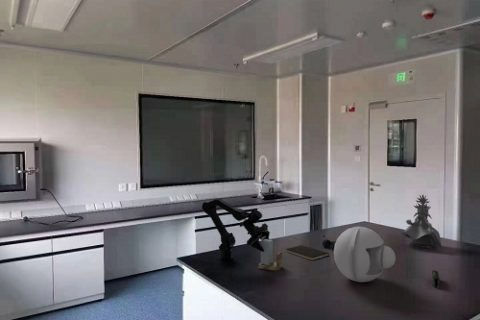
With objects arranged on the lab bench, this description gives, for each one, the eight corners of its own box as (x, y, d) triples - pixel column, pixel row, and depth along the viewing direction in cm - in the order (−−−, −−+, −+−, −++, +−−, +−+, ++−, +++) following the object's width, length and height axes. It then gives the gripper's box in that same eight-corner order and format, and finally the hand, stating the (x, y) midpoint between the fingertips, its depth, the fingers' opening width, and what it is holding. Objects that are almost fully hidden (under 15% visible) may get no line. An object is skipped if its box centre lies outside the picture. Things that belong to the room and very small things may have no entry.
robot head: (390, 297, 163) (390, 237, 162) (326, 284, 179) (326, 230, 178) (399, 277, 187) (400, 225, 186) (342, 267, 203) (342, 219, 202)
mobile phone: (431, 269, 187) (433, 278, 173) (437, 270, 185) (440, 279, 172) (431, 278, 187) (433, 288, 173) (437, 279, 185) (440, 289, 172)
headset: (318, 233, 244) (340, 233, 251) (316, 246, 244) (339, 246, 251) (330, 237, 232) (353, 237, 239) (328, 252, 232) (352, 251, 239)
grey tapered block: (260, 263, 205) (260, 241, 204) (265, 260, 210) (265, 238, 209) (268, 265, 202) (268, 242, 202) (273, 262, 207) (272, 240, 206)
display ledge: (258, 268, 204) (258, 252, 203) (262, 263, 211) (262, 248, 211) (278, 270, 199) (278, 254, 199) (282, 266, 207) (282, 250, 206)
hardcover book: (311, 261, 217) (311, 257, 217) (285, 252, 235) (285, 248, 235) (328, 256, 226) (328, 252, 226) (302, 248, 245) (302, 244, 245)
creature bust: (442, 244, 248) (443, 194, 246) (440, 253, 228) (441, 198, 227) (405, 239, 261) (405, 192, 259) (400, 247, 241) (400, 196, 240)
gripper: (251, 222, 200) (268, 245, 194) (267, 216, 215) (283, 237, 210) (239, 234, 204) (256, 256, 199) (255, 228, 220) (271, 248, 214)
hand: (267, 249), depth 205 cm, fingers open, 9 cm apart
